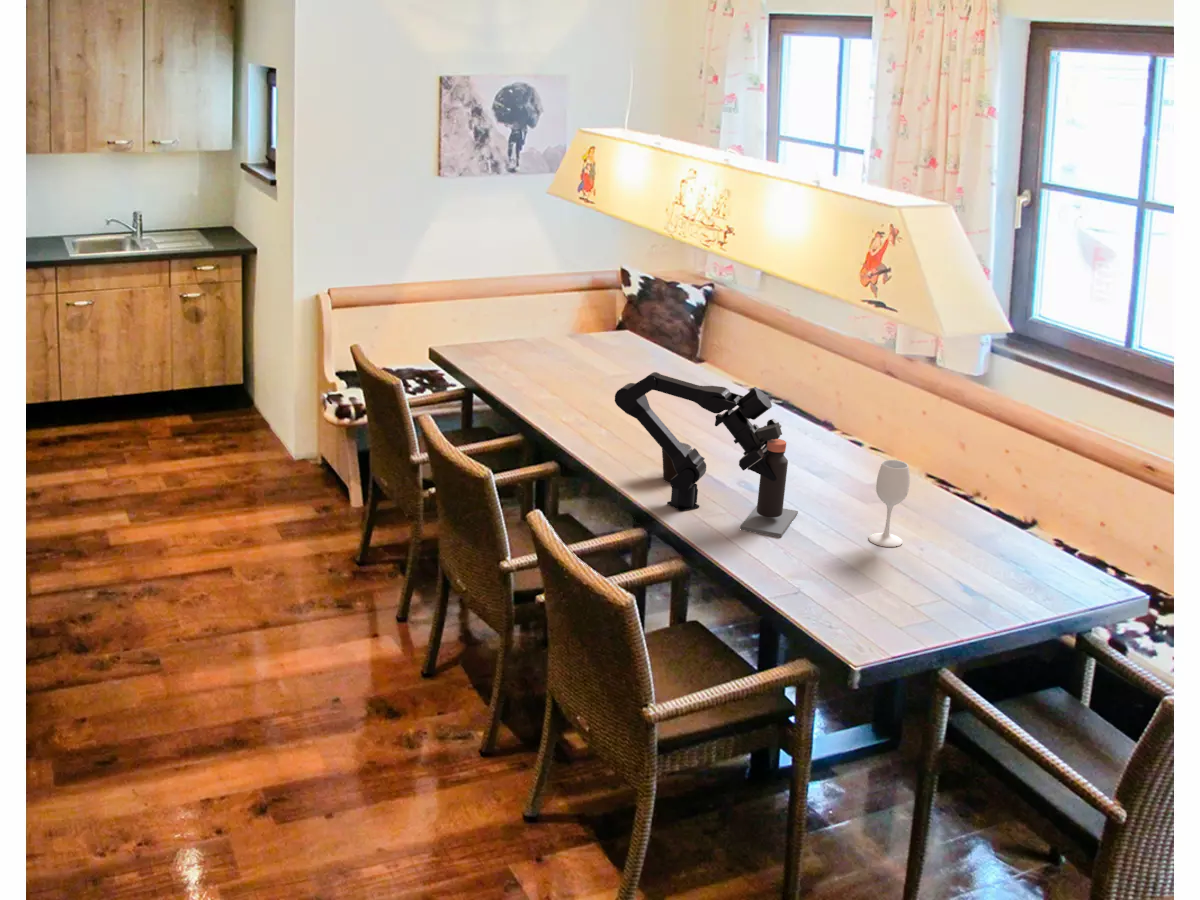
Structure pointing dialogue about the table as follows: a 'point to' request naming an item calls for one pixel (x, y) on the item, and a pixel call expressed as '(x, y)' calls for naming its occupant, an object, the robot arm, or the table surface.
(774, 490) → the vinegar
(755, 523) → the gray board
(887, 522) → the wineglass
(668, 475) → the coffee mug
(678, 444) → the robot arm
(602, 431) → the table surface
